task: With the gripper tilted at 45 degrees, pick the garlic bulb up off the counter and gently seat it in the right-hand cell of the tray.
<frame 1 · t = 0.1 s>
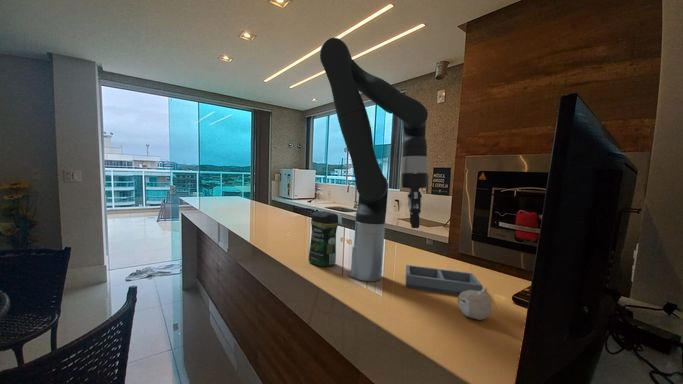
hand: (414, 226, 80), 17 cm above the counter, tool pointing down, fingers open, 8 cm apart
tray: (439, 285, 79), on the counter
coffee jar: (321, 264, 94), on the counter
garlic bulb: (473, 317, 61), on the counter
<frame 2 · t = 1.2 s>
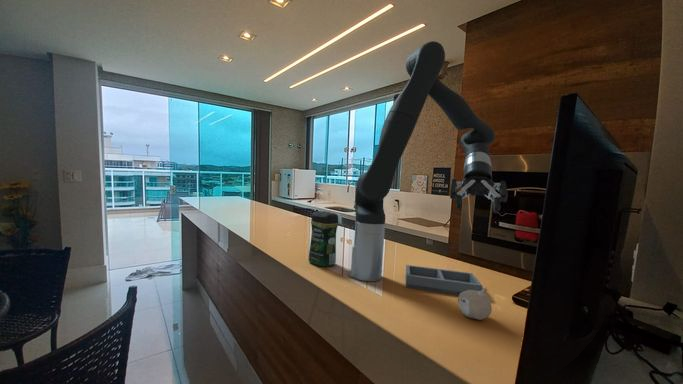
hand: (477, 209, 71), 24 cm above the counter, tool tilted 45°, fingers open, 8 cm apart
nothing on the counter moved.
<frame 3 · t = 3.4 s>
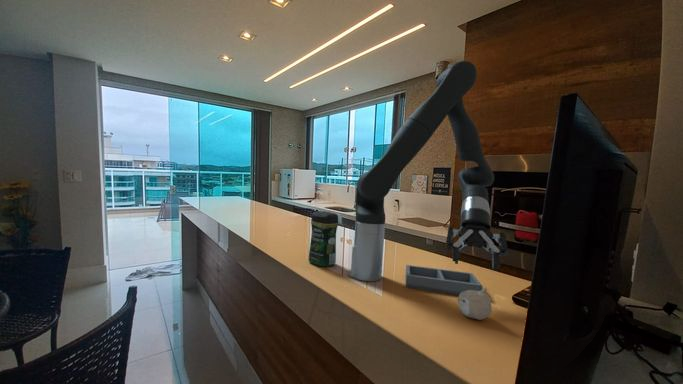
hand: (475, 265, 66), 10 cm above the counter, tool tilted 45°, fingers open, 8 cm apart
nothing on the counter moved.
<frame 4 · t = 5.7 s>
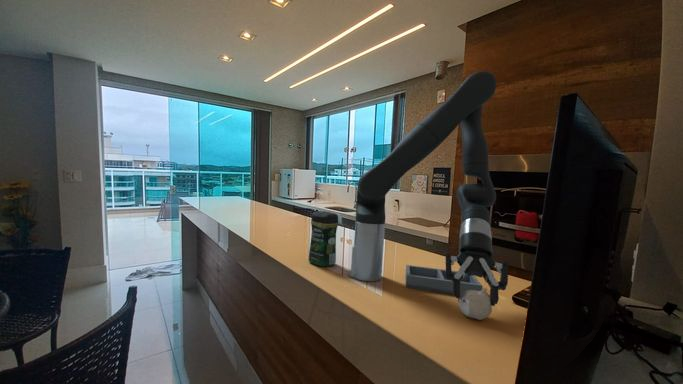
hand: (475, 300, 59), 4 cm above the counter, tool tilted 45°, fingers closed on garlic bulb, 6 cm apart
garlic bulb: (473, 317, 60), on the counter, touching gripper
everything else where it was.
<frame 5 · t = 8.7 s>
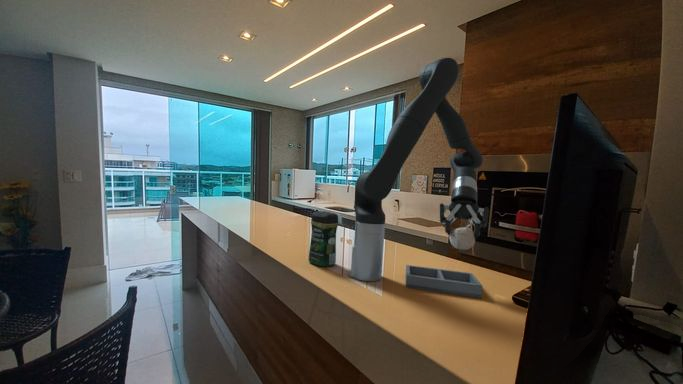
hand: (461, 234, 75), 16 cm above the counter, tool tilted 45°, fingers closed on garlic bulb, 6 cm apart
garlic bulb: (460, 249, 77), point 12 cm above the counter, touching gripper
everything else where it was.
when the fingers open (7 cm above the counter, at t = 11.7 s): garlic bulb drops 1 cm, resting on tray.
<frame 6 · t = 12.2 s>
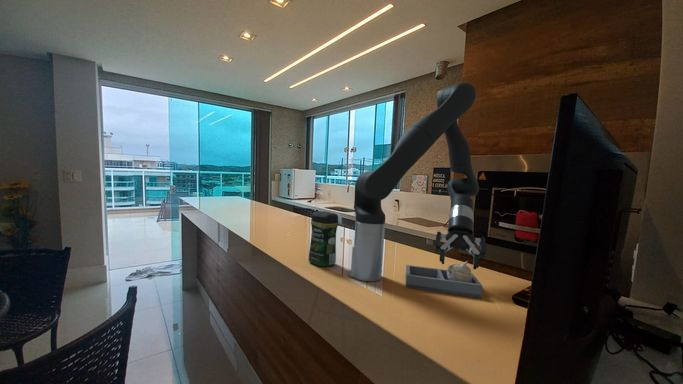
hand: (458, 265, 77), 7 cm above the counter, tool tilted 45°, fingers open, 8 cm apart
garlic bulb: (457, 285, 78), point 1 cm above the counter, touching tray
everything else where it was.
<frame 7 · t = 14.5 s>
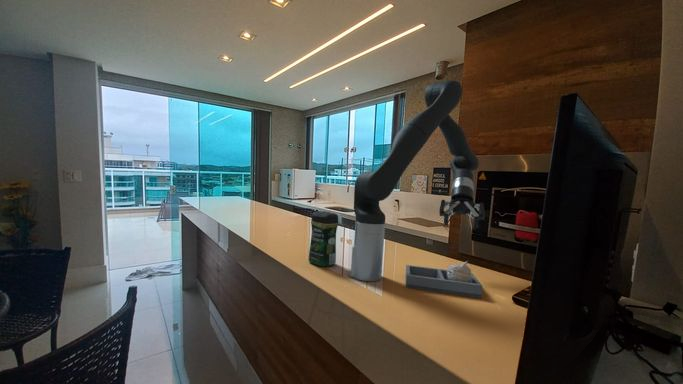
hand: (460, 226, 88), 17 cm above the counter, tool tilted 45°, fingers open, 8 cm apart
nothing on the counter moved.
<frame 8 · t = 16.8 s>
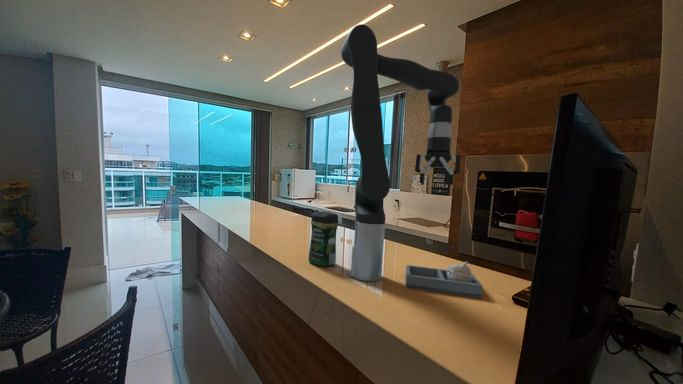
hand: (435, 185, 90), 30 cm above the counter, tool pointing down, fingers open, 8 cm apart
nothing on the counter moved.
at the end: garlic bulb 0.3 cm from the target spot on the tray, point 0.8 cm above the tray's base; the gripper is holding nothing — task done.
